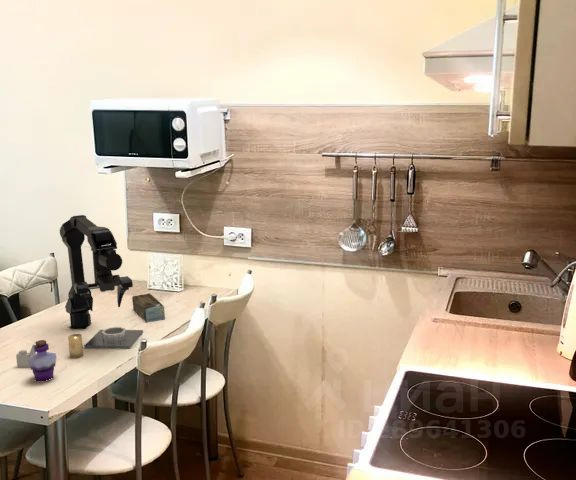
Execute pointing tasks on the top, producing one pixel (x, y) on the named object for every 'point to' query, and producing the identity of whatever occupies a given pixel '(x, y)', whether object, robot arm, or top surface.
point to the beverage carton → (148, 307)
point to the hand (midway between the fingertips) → (105, 308)
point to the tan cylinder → (75, 346)
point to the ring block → (114, 338)
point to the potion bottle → (42, 361)
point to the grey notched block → (24, 357)
